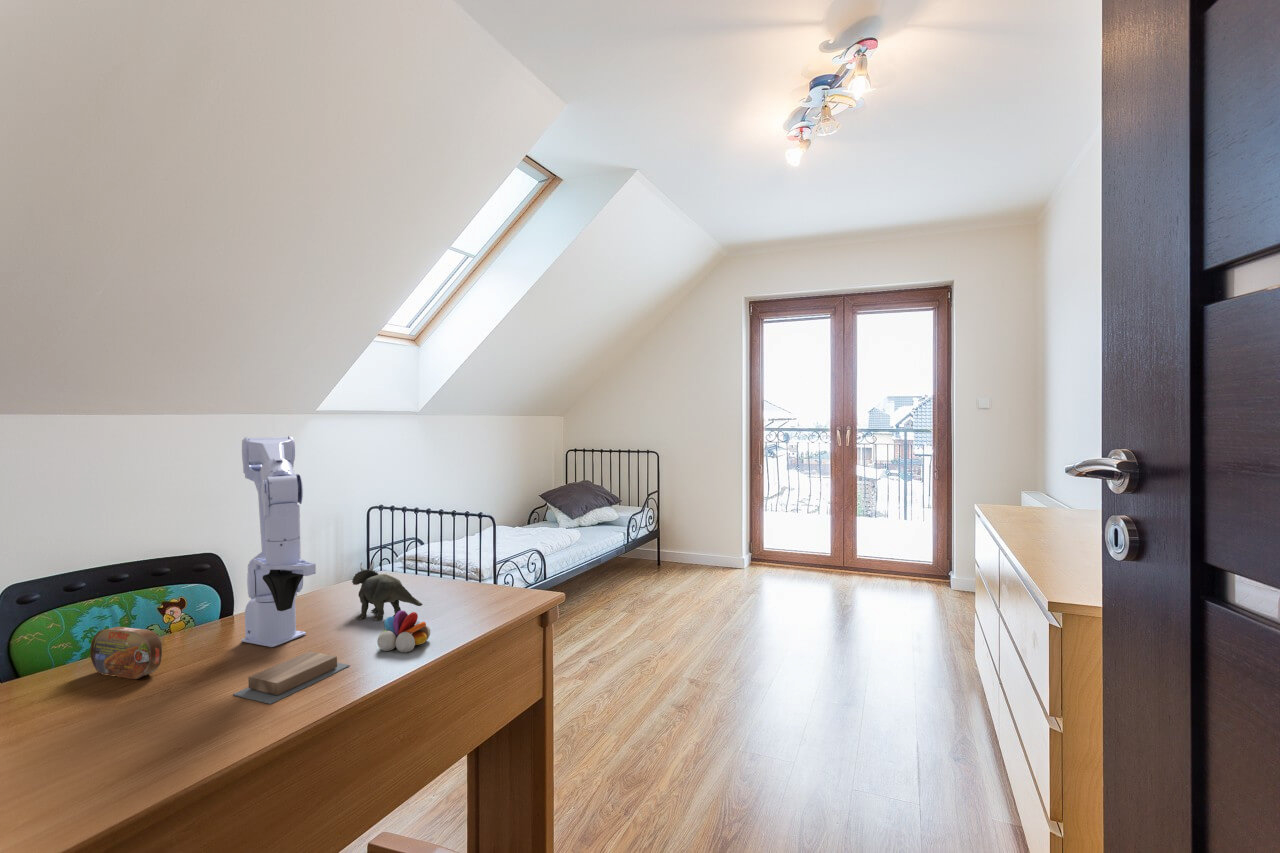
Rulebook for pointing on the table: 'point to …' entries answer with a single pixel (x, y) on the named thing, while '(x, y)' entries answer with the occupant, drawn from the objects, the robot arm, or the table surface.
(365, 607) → the dinosaur figurine
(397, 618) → the rainbow petal rattle
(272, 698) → the felt mat
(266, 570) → the robot arm
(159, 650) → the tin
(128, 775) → the table surface
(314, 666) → the wooden block
